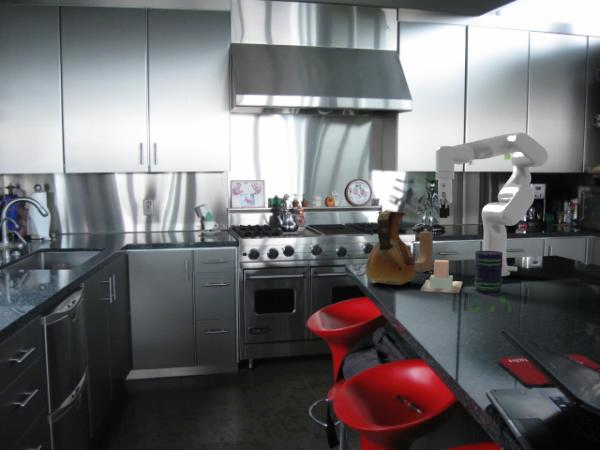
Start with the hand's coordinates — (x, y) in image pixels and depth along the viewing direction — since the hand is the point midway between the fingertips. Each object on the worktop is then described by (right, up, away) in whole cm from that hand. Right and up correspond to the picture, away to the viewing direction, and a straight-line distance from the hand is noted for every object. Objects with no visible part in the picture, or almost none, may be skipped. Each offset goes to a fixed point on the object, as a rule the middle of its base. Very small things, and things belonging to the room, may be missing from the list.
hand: (444, 217), depth 227 cm
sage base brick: (-6, -27, -19) cm, 34 cm away
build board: (-5, -28, -15) cm, 32 cm away
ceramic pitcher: (-24, -28, -7) cm, 37 cm away
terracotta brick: (-6, -23, -19) cm, 31 cm away
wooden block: (-4, -25, +23) cm, 34 cm away
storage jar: (+10, -29, -25) cm, 39 cm away
